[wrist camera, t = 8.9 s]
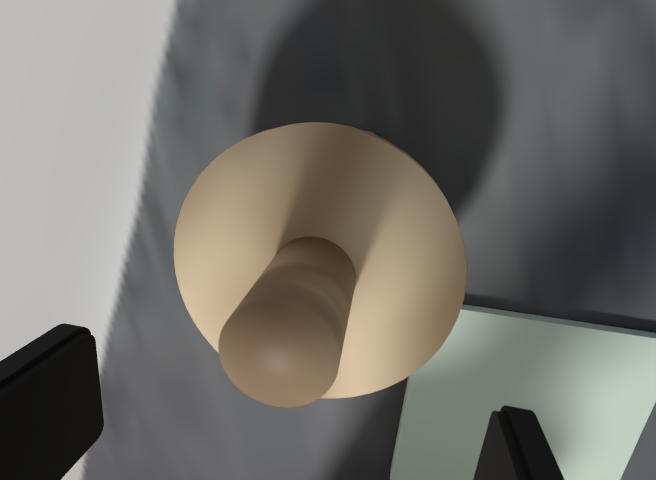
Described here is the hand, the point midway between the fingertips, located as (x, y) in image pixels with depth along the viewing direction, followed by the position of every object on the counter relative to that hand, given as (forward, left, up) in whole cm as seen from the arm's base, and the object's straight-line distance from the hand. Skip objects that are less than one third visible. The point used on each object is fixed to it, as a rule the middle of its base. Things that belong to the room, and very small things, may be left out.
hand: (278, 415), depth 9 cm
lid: (0, -1, -8) cm, 8 cm away
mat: (-11, +8, -12) cm, 18 cm away
